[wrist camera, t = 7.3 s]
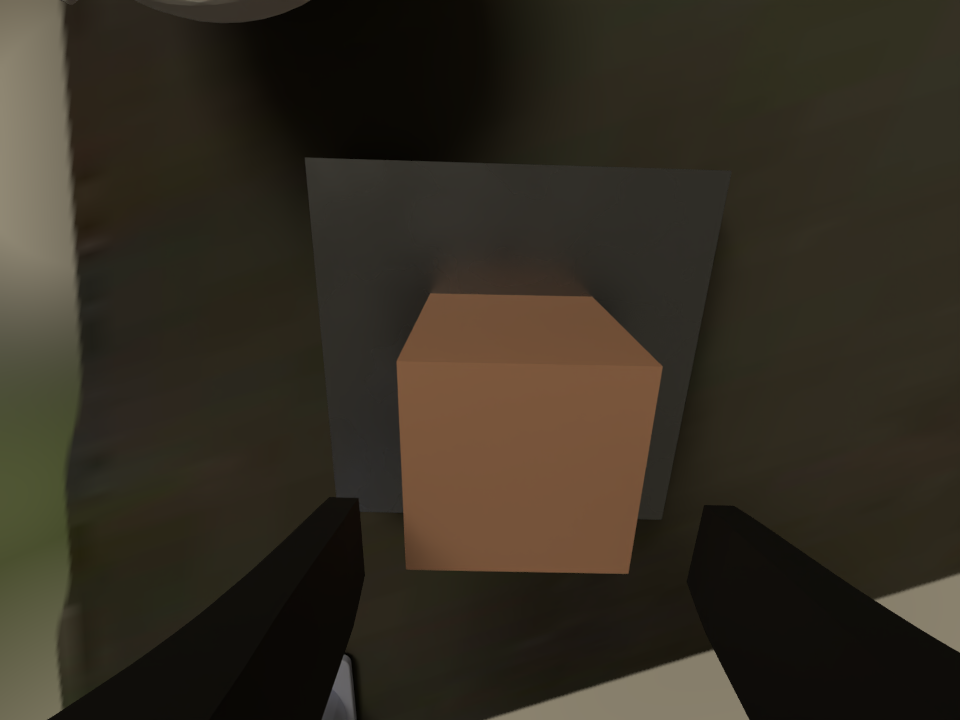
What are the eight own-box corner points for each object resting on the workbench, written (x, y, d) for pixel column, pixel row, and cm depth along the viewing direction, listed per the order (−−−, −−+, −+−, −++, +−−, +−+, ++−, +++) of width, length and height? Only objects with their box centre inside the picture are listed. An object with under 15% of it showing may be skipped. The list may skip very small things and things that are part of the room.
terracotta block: (432, 436, 16) (406, 569, 10) (430, 293, 14) (396, 361, 9) (577, 438, 16) (628, 573, 10) (592, 296, 14) (662, 366, 9)
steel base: (358, 465, 20) (337, 510, 17) (336, 163, 16) (304, 157, 13) (636, 473, 20) (661, 519, 17) (687, 173, 16) (731, 170, 13)
